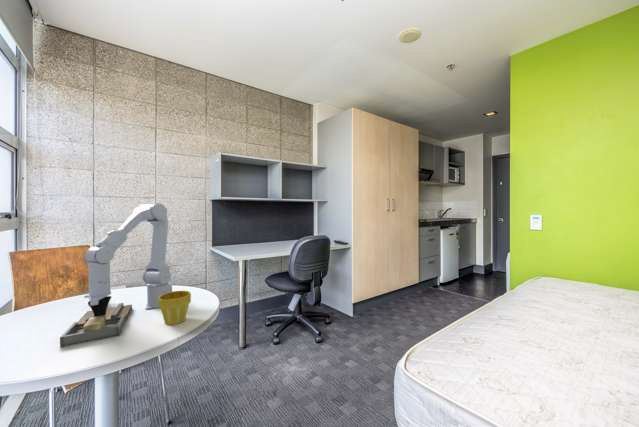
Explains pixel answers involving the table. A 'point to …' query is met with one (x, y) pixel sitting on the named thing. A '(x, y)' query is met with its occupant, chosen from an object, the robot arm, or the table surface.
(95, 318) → the light wooden cube
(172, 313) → the plant pot
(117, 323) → the tray
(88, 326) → the beige cube
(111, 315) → the slot bed
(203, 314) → the table surface
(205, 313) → the table surface
